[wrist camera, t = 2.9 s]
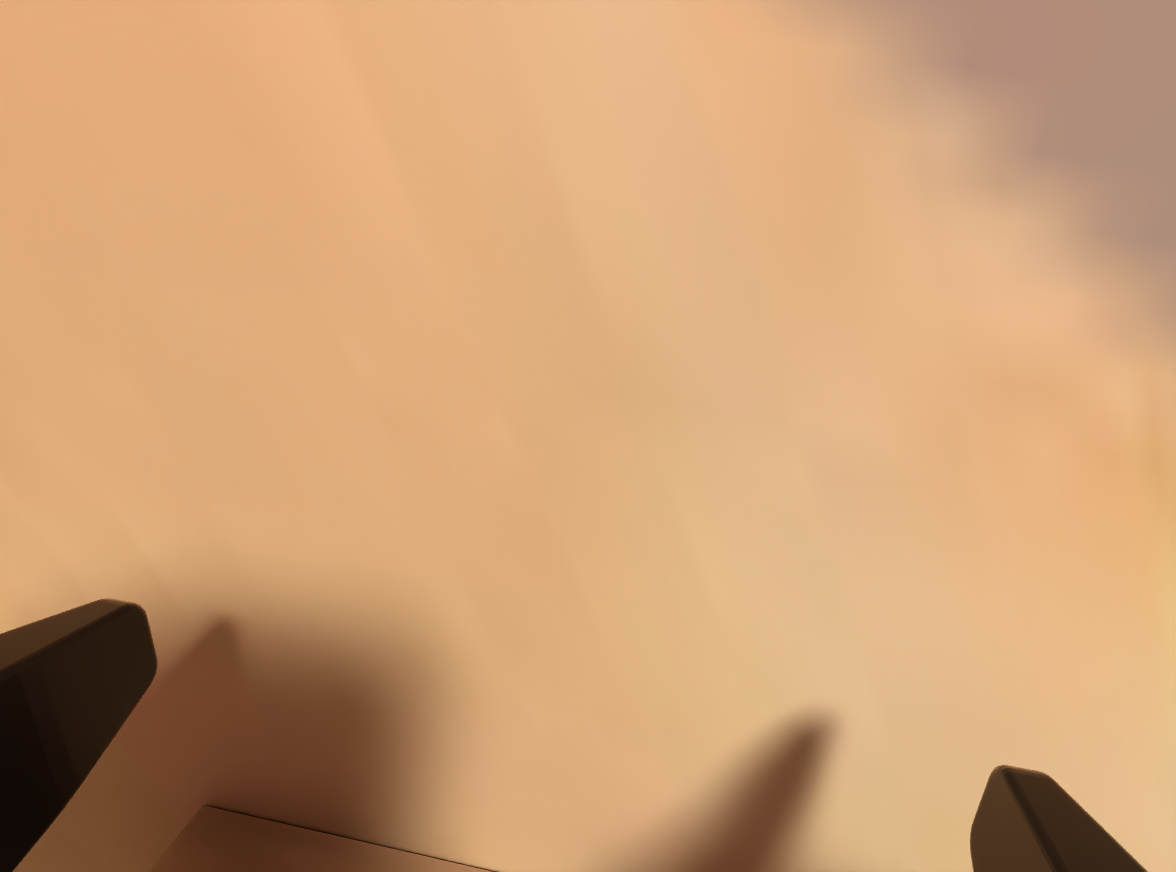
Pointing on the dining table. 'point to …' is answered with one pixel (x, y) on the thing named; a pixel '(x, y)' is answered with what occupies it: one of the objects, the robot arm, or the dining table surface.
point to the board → (282, 849)
